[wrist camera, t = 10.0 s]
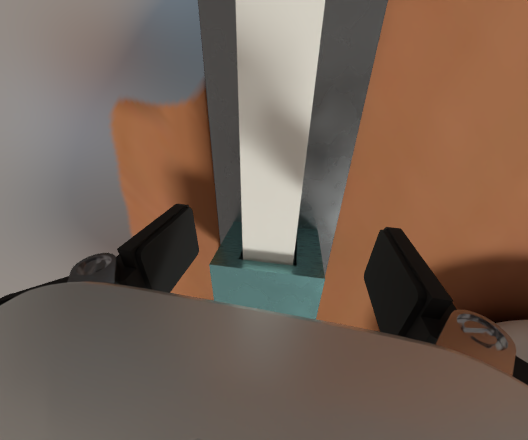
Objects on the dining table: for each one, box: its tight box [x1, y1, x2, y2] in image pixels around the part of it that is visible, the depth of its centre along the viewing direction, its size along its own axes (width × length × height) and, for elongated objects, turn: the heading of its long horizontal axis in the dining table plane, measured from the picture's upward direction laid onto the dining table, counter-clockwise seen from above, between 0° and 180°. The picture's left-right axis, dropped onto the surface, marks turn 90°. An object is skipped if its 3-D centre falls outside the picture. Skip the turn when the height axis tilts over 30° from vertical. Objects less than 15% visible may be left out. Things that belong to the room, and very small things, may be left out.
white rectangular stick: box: [236, 0, 325, 266], centre depth 14 cm, size 24×4×5 cm, turn 178°
